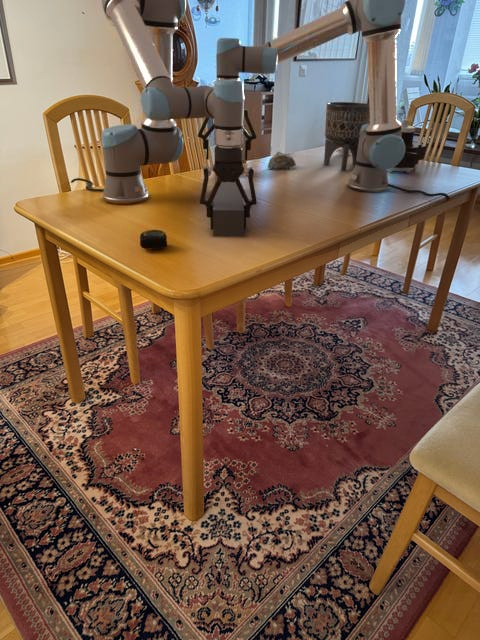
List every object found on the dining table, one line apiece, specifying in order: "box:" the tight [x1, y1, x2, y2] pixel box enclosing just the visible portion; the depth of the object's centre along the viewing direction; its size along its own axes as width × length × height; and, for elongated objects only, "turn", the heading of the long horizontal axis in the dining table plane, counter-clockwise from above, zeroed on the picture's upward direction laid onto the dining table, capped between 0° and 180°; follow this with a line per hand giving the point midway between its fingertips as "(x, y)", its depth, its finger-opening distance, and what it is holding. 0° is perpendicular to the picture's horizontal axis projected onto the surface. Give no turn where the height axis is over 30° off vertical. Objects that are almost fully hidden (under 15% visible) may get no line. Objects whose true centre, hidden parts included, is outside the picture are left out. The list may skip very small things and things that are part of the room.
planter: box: [323, 101, 370, 172], centre depth 204 cm, size 20×20×26 cm
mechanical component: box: [387, 119, 428, 174], centre depth 205 cm, size 22×21×30 cm
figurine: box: [335, 147, 352, 156], centre depth 235 cm, size 8×15×13 cm, turn 145°
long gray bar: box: [212, 173, 245, 237], centre depth 147 cm, size 52×9×7 cm, turn 2°
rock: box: [267, 151, 297, 171], centre depth 203 cm, size 13×9×6 cm, turn 131°
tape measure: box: [139, 229, 168, 250], centre depth 117 cm, size 7×7×4 cm
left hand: (228, 228), depth 131 cm, fingers closed on long gray bar, 9 cm apart
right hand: (226, 159), depth 161 cm, fingers open, 13 cm apart
